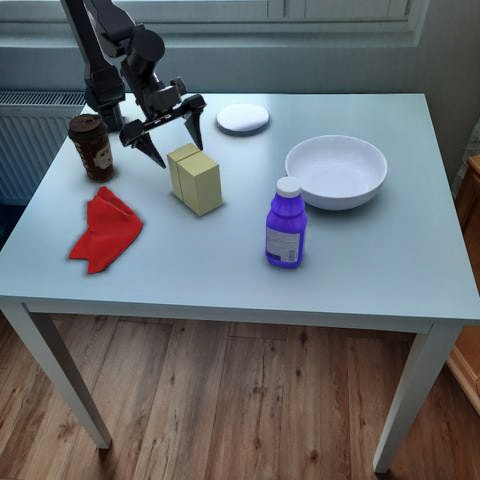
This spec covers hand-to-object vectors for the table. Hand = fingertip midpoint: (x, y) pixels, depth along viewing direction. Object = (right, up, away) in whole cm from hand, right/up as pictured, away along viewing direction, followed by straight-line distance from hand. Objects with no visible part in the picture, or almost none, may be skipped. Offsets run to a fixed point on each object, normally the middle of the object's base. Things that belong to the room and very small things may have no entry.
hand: (183, 159), depth 97 cm
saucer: (+12, +17, +22) cm, 31 cm away
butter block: (+4, -8, +4) cm, 10 cm away
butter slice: (+1, -5, +6) cm, 8 cm away
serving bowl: (+31, -5, +5) cm, 32 cm away
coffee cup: (-20, 0, +12) cm, 23 cm away
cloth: (-15, -14, +1) cm, 21 cm away
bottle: (+20, -22, -7) cm, 30 cm away
